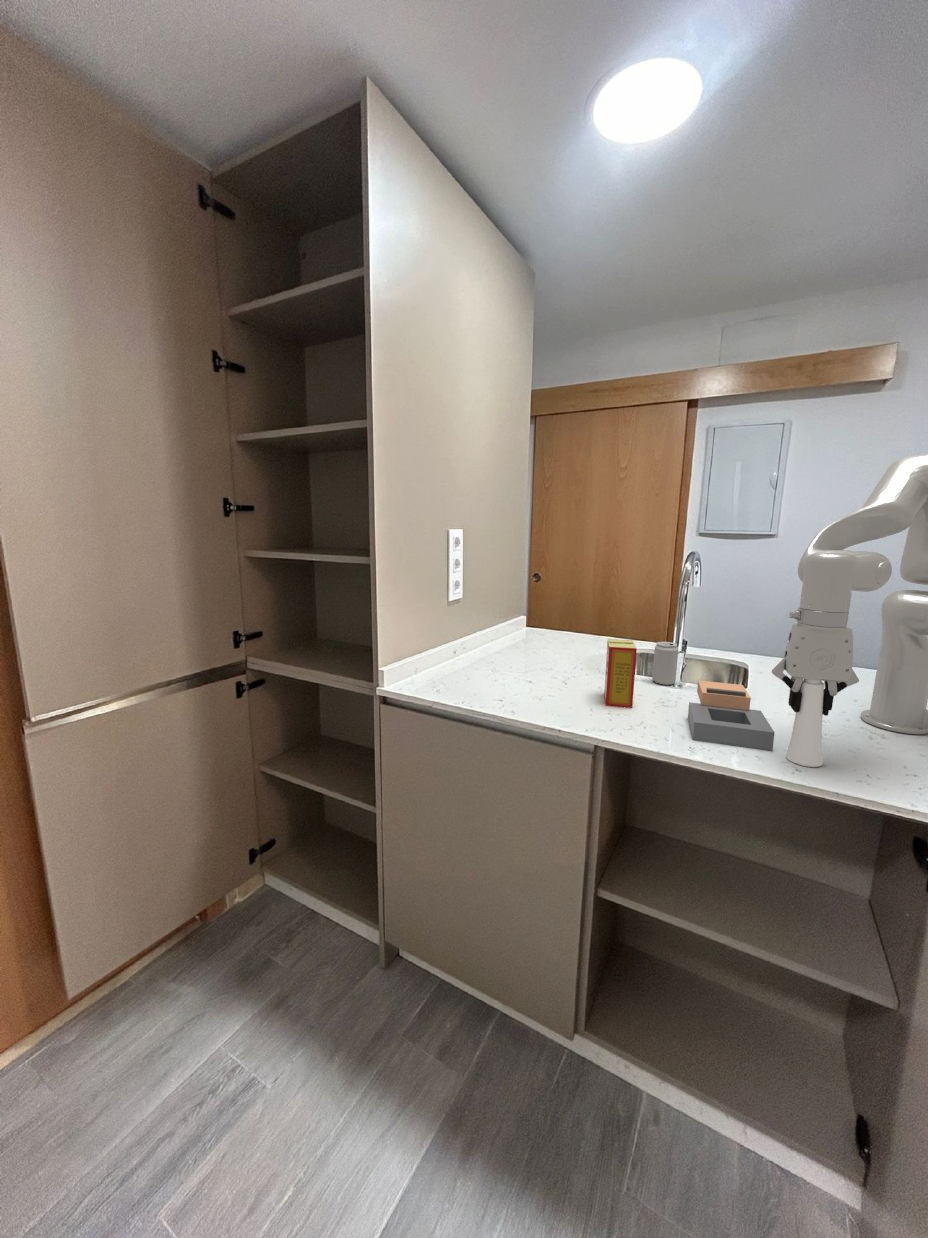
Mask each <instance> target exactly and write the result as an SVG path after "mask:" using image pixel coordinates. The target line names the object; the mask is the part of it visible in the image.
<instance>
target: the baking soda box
mask: <svg viewBox="0 0 928 1238" xmlns="http://www.w3.org/2000/svg"><path fill="white" fill-rule="evenodd" d="M605 660H606V662H605V674H604V675H605V676H604V677H605V678H604V693H603V694H604V695H603V696H604V703H605V706H606V707H616V708H624V707H625V708H626V709H633V705H634V704H633V703H634V691H635V690H634V689H635V688H634V687H635V676H636V663H637V662H636V661H637V647H636V644H635V642H634V640H632V639H631V640H630V639H617V638H615V639H613V638H607V645H606V659H605ZM625 708H624V709H625Z"/></svg>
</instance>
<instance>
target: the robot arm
mask: <svg viewBox="0 0 928 1238" xmlns="http://www.w3.org/2000/svg"><path fill="white" fill-rule="evenodd" d="M906 530H907V534H906V540H905V544H904V548H903V552H902V556H901V559H900V560H901V562H900V568H899V572H900V573H899V574H900V577H901V578H902V579H903V580H904V581H906V583H907V582H908V583H911V584H916V585H926V586H928V453H920V454H913V455H907V456H904V457H901V458H898V459H897V460H895V461H893V463H891V464H890V466H889V467H888V468H887V469H886V471H885V472H884V474H883V475H882V477H881V478H880V479H879V481H878V483H877V484H876V485H875V487H874V488H873V491H872V492H871V493H870V495H869V497H868V498H867V500H866V501H865V503H864V504H863V505H862V506H861V507H860V508H858V509H856V510H854V511H853V512H850V513H848V514H846V515H844V516H842V517H839V519H837V520H835V521H834V522H831V523H829V524H828V525H826V526H825V527H824V528H823V529H821V530H819V532H818V533H817V534H816V535H815V536H814V537H813V539H812V540H811V542H810V543H809V545H808V546H807V548H806V549H805V550H804V552H803V554H802V556H801V557H800V559H799V562H798V567H797V575H798V578H799V580H800V582H802V584H801V591H800V592H801V593H800V598H799V599H800V600H799V607H797V609H796V610H793V611H792V610H791V611H789V616H788V617H789V619H794V620H796V622H795V623H793V624H792V626H791V628H790V631H789V634H788V637H787V640H786V645H785V648H784V652H783V658H782V659H781V660H780V661H779V662H778V663H777V664H776V666H774V668H772V669H771V674H772V675H773V676H775V677H777V678H778V679H779V680H781V681H782V682H783V683H784V684H785V685H786V686H787V687H788V688H789V693H788V694H789V695H788V706H789V707H790V708H791V709H792V710H793V712H794V713H796V712H799V711H800V705H801V697H802V693H801V692H800V687H801V684H802V681H803V680H804V679H811V680H822V682H823V683H824V698H823V716H827V717H828V716H829V712H830V711H832V708H833V703H834V698H835V696H837V695H838V694H839V692H841V691H843V690H844V689H846V688H848V687H850V686H853V685H855V684H858V683H859V682H860V679H859V677H858V676H857V674H856V673H855V671H854V669H853V661H854V635H853V628H850V627H847V626H848V620H849V613H850V607H851V601H852V594H853V593H852V592H861V593H862V592H863V593H867V592H868V593H869V592H874V591H877V590H880V589H881V588H882V587H884V586H885V585H886V584H887V583H888V582H889V580H890V579H891V576H892V571H893V568H892V564H891V563H892V562H891V561H890V559H889V558H888V557H887V556H885V555H884V554H882V553H879V552H875V551H866V550H865V551H864V550H863V551H862V550H847V548H850V547H852V546H855V545H859V544H863V543H867V542H871V541H875V540H880V539H883V538H886V537H890V536H893V535H897V534H899V533H901V532H904V531H906ZM845 549H846V550H845ZM880 610H881V613H880V615H881V642H880V649H879V654H878V659H877V660H878V661H877V666H876V667H877V668H876V672H875V679H874V683H873V691H872V696H871V702H870V708H869V709H865V710H862V711H861V712H860V719H861V720H862V721H864V722H865V723H867V724H869V725H872V726H874V727H877V728H880V729H883V730H887V731H890V732H891V731H892V732H896V733H901V734H909V735H927V734H928V709H927V705H928V637H927V636H928V591H927V590H919V589H918V590H917V589H902V590H901V589H900V590H897V591H894V592H892V593H889V594H888V595H887V596H886V597H885V598H884V599H883V601H882V603H881V609H880ZM784 671H786V673H787V674H788V675H789V676H790V677H789V676H788V675H787V674H785V673H784Z"/></svg>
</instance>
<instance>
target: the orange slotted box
mask: <svg viewBox="0 0 928 1238" xmlns="http://www.w3.org/2000/svg"><path fill="white" fill-rule="evenodd" d="M696 693H697V695H698V699H699V702H700V703H699V704H701V705H707V706H716V707H725V708H733V709H742V710H749V709H750V708H751V700H752V698H751V695H750V694H749V693H748V691H747V690H746V688H745V687H744V685H743V684H737V683H727V682H718V681H717V682H716V681H707V680H697V688H696Z"/></svg>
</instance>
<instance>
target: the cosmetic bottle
mask: <svg viewBox="0 0 928 1238" xmlns="http://www.w3.org/2000/svg"><path fill="white" fill-rule="evenodd" d="M824 689H825V686H824V681H822V680H811V679H803V681H802V684H801V687H800V692H801V693H802V697H801V705H800V711H799V712H795V716H794V721H793V727H792V732H791V737H790V739H789V740H790V741H789V744H788V747H787V750H786V753H785V758H786V759H787V760H789V762H791V763H793V764H795V765H799V766H803V767H808V768H817V767H822V766H823V765H824V759H823V747H822V746H823V743H822V741H823V740H822V739H823V738H822V737H823V733H822V731H823V716H824V715H823V698H824Z"/></svg>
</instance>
